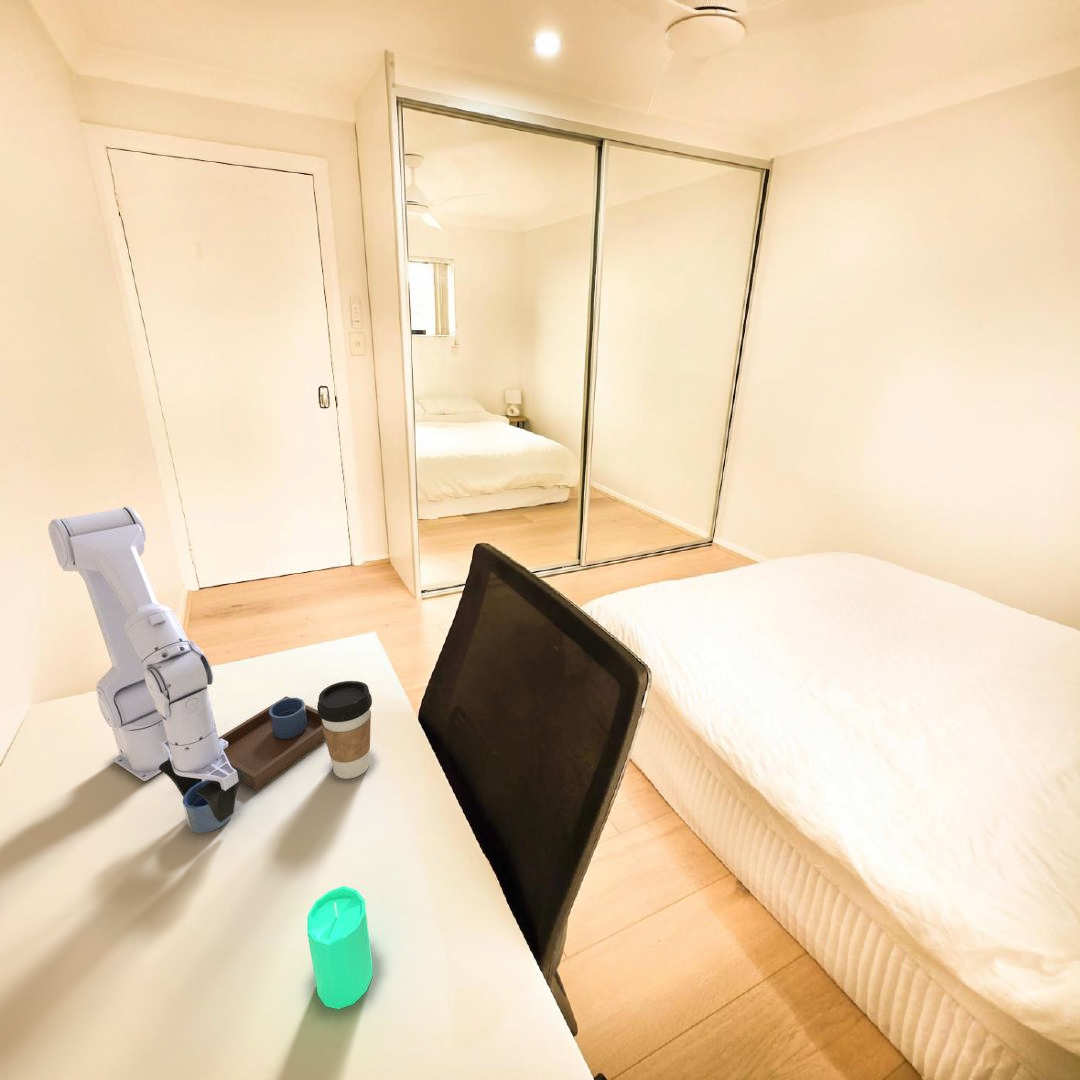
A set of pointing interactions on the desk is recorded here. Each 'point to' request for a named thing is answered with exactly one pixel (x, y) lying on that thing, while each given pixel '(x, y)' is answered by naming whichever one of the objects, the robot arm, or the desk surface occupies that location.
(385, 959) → the desk surface
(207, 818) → the rice bowl
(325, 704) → the coffee cup
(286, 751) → the tray
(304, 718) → the rice bowl
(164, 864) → the desk surface
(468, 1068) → the desk surface
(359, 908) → the candle
